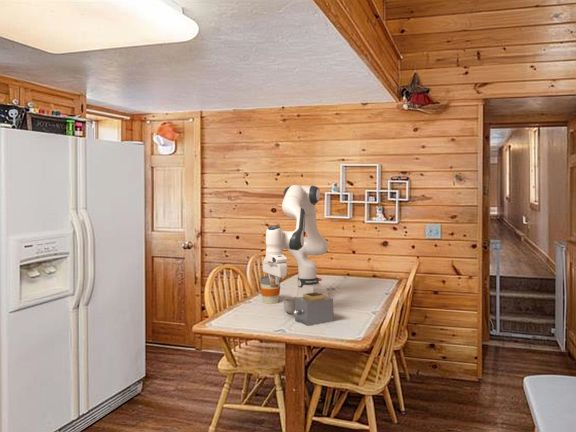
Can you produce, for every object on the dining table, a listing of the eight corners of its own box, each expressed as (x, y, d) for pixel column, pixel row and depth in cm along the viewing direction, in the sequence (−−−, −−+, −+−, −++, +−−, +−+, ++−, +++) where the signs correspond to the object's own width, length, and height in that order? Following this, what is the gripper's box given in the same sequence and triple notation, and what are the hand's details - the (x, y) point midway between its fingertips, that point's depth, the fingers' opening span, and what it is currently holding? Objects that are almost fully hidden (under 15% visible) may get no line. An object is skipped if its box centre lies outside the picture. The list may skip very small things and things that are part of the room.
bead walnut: (275, 285, 274) (275, 277, 273) (279, 286, 270) (279, 278, 270) (269, 286, 272) (269, 277, 271) (272, 287, 268) (272, 279, 268)
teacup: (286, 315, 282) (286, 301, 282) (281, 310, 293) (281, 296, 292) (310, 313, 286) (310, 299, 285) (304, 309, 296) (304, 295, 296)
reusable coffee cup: (281, 300, 319) (281, 276, 317) (279, 305, 306) (279, 280, 305) (261, 299, 320) (261, 275, 319) (258, 304, 307) (258, 279, 306)
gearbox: (320, 316, 281) (320, 290, 280) (333, 321, 270) (333, 294, 269) (290, 321, 271) (290, 294, 270) (302, 326, 261) (302, 299, 260)
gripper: (259, 255, 277) (260, 280, 278) (278, 260, 259) (278, 287, 260) (270, 254, 280) (270, 279, 281) (289, 259, 263) (289, 286, 264)
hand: (274, 283), depth 271 cm, fingers closed on bead walnut, 4 cm apart
